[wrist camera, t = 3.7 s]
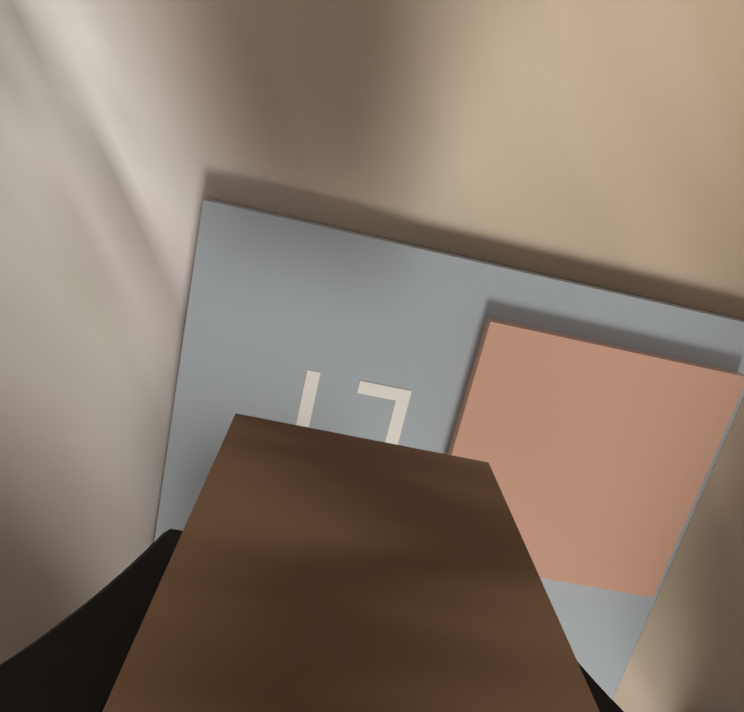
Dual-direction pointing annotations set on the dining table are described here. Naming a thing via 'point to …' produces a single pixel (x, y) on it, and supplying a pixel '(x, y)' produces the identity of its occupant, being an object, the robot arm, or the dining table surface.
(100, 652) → the robot arm
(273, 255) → the board
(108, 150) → the dining table surface
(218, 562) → the walnut block
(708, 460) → the terracotta pad
